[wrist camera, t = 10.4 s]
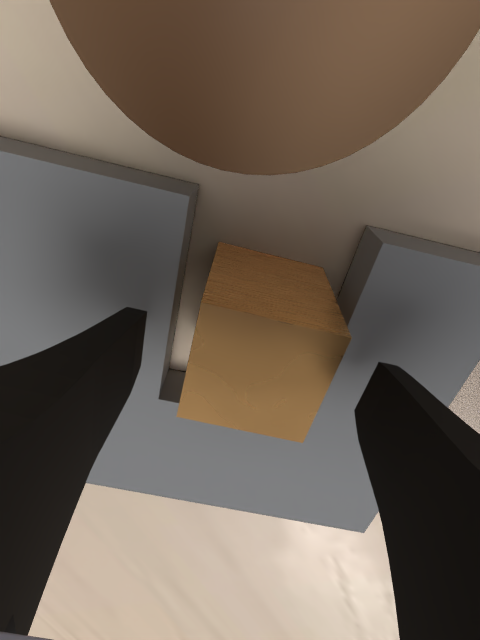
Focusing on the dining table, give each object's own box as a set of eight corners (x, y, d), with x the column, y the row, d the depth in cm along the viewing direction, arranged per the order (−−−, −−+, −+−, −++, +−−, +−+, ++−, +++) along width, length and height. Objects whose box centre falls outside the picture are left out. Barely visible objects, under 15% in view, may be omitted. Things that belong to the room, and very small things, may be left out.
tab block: (322, 267, 14) (351, 337, 10) (290, 352, 16) (302, 443, 12) (219, 241, 14) (200, 302, 9) (198, 331, 16) (176, 417, 11)
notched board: (497, 257, 13) (533, 279, 12) (354, 496, 20) (363, 532, 19) (-12, 133, 12) (-57, 137, 10) (17, 433, 19) (-7, 466, 17)
